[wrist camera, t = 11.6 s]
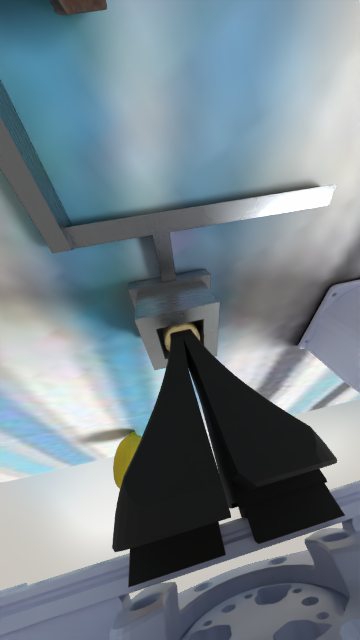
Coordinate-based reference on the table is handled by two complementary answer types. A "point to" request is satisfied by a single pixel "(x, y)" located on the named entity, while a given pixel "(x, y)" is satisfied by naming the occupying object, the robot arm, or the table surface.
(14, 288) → the table surface
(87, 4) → the bolt
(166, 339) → the press pin
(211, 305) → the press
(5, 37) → the table surface
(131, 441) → the lemon
